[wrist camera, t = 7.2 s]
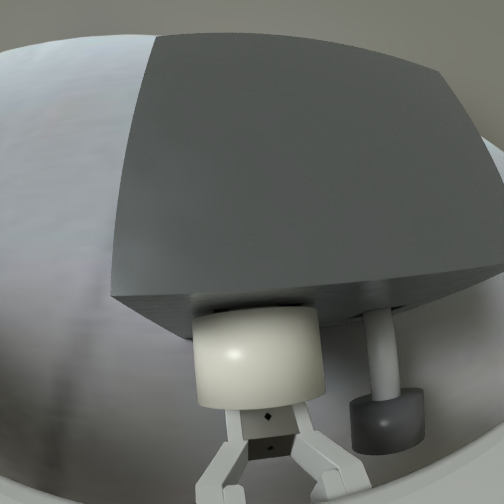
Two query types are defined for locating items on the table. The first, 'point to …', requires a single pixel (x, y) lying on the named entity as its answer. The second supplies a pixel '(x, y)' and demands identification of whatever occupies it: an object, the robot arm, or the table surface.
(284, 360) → the ivory knob
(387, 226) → the control box
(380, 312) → the charcoal knob
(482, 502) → the robot arm
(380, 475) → the table surface
